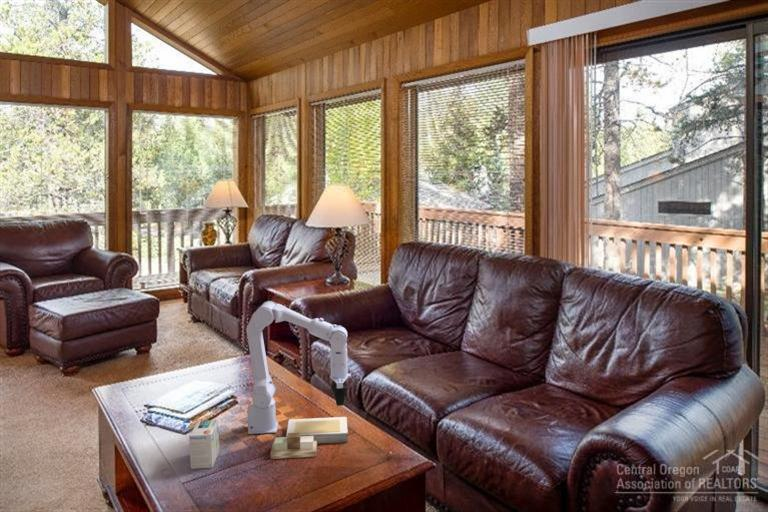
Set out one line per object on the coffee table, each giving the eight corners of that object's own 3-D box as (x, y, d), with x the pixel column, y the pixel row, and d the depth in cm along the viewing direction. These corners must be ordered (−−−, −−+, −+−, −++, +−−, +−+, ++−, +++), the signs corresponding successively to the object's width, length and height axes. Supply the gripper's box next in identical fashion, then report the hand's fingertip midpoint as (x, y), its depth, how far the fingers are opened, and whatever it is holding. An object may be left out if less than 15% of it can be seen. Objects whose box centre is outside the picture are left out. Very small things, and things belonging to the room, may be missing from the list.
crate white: (300, 449, 180) (300, 442, 180) (300, 443, 184) (300, 436, 184) (313, 449, 180) (312, 441, 180) (313, 443, 184) (313, 435, 184)
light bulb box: (198, 452, 183) (196, 419, 181) (220, 451, 183) (218, 419, 182) (190, 469, 172) (188, 435, 171) (213, 468, 173) (211, 434, 171)
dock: (286, 445, 187) (285, 437, 186) (289, 426, 201) (289, 419, 200) (347, 442, 189) (347, 434, 188) (346, 423, 202) (346, 416, 202)
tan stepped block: (270, 459, 178) (270, 441, 177) (273, 448, 185) (272, 431, 184) (316, 457, 179) (315, 439, 178) (317, 446, 186) (316, 429, 185)
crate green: (274, 450, 179) (274, 443, 179) (275, 444, 183) (275, 437, 183) (287, 450, 180) (287, 442, 179) (288, 444, 184) (288, 436, 183)
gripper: (351, 369, 189) (352, 408, 191) (350, 355, 203) (350, 392, 205) (330, 370, 188) (330, 409, 190) (329, 356, 202) (330, 393, 204)
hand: (339, 400), depth 197 cm, fingers open, 7 cm apart
